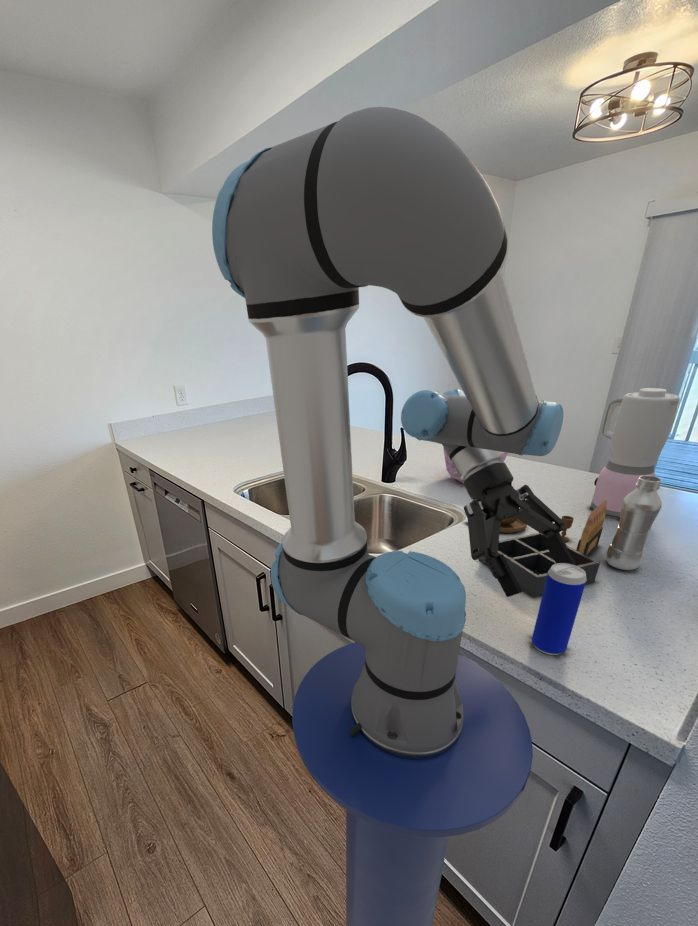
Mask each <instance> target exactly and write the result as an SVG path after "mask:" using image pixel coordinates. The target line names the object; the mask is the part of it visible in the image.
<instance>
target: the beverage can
mask: <svg viewBox="0 0 698 926" xmlns="http://www.w3.org/2000/svg"><path fill="white" fill-rule="evenodd" d="M586 580H587V579H586V573H585V571H584V570H583V569H581V568H580V567H578V566H575V565H572V564H567V563H557V564H554V565H552V567H551V568H550V570H549V571H548V574H547V578H546V582H545V586H544V591H543V595H541V599H540V603H539V608H538V612H537V616H536V620H535V624H534V628H533V632H532V636H531V643H532V645H533V646H534V648H535V649H536V650H538V651H539V652H541V653H543V654H546V655H548V656H559V655H561V654H563V653H565V652H566V651H567V649H568V645H569V642H570V638H571V634H572V631H573V627H574V624H575V621H576V618H577V614H578V610H579V607H580V605H581V600H582V597H583V594H584V590H585V587H586V585H587V584H586Z"/></svg>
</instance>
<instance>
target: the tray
mask: <svg viewBox="0 0 698 926" xmlns="http://www.w3.org/2000/svg"><path fill="white" fill-rule="evenodd" d="M546 538H548V537H545V536H544V535H542V534H541V533H539V532H534V533H531V534H530V533H529V534H525V535H521V536H517V537H515V536H514V537H511V538H506V539H501V540H499V544H498V554H497V556H499V555H501V554H503V556H504V557H505V559H506V561H507V563H508V565H509V567H510V569H511V571H512V572H513V574H514V576H515V578H516V580H517V582H518V584H519V586H520V587H521V589H522V591H523V592H525V593H526V594H528V595H529V596H530V597H532V598H536V597H540V596H542V595H543V591H544V586H545V582H546V578H547V574H548V571H549V570H550V568H551V567H552V565H554V564H556V562H555V560H554V559H553V557H552V555H551V553H550V552H549V550H548V548H547V546H546V544H545V543H544V541H543V539H546ZM567 547H568V551H569V553H570V554H571V556H572V558H573V559H574V561H575V563H576V565H577V566H578V567H580V568H581V569H583V570H584V571H585V573H586V579H587V580H586V584H585V585H588V584H592V583H595V581H596V578H597V576H598V575H597V574H598V571H599V568H600V565H601V562H599V561H597V559H594V558H592V557H590V556H589V557H588V556H586V555H584V554H582V553H580V552H579V551H577V550H576V549H574V548H573V547H571V546H569V545H567ZM482 563H483V564H484V565H485V566H487V567H488V565H487V563H486V562H485V561H484V562H482Z"/></svg>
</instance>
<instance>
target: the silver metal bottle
mask: <svg viewBox="0 0 698 926" xmlns="http://www.w3.org/2000/svg"><path fill="white" fill-rule="evenodd" d="M661 483H662V479H661V478H660V477H657V476H655V477H654V476H640V477H639V478H638V481H637V483H636V487H637V488H636V489H635V490H633V491H632V492H630V493H629V494H628V495H627V496H626V497H625V498H624V499H623V502H622V507H621V515H620V517H619V521H618V526H617V529H616V532H615V534H614V536H613V539H612V541H611V543H610V544H609V546H608V547H607V549H606V553H605V555H606V556H605V560H606V562H607V563H608V565H609V566H611V567H613V568H615V569H618V570H624V571H633V570H636V569H637V568H639V567H640V566H641V564H642V563H643V561H644V558H645V548H646V543H647V538H648V535H649V533H650V531H651V528H652V526H653V524H654V522H655V520H656V518H657V517H658V515H659V513H660V512H661V509H662V505H663V504H662V499H661V497H660V495H659V493H658V491H659V490H660V489H661Z"/></svg>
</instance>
